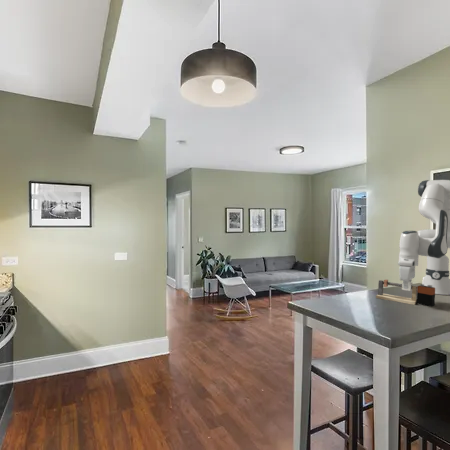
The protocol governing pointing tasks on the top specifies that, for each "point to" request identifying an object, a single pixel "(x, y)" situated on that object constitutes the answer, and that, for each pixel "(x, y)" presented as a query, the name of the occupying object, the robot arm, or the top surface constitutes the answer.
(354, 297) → the top surface
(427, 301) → the battery
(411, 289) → the marker sleeve
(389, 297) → the rod stand
